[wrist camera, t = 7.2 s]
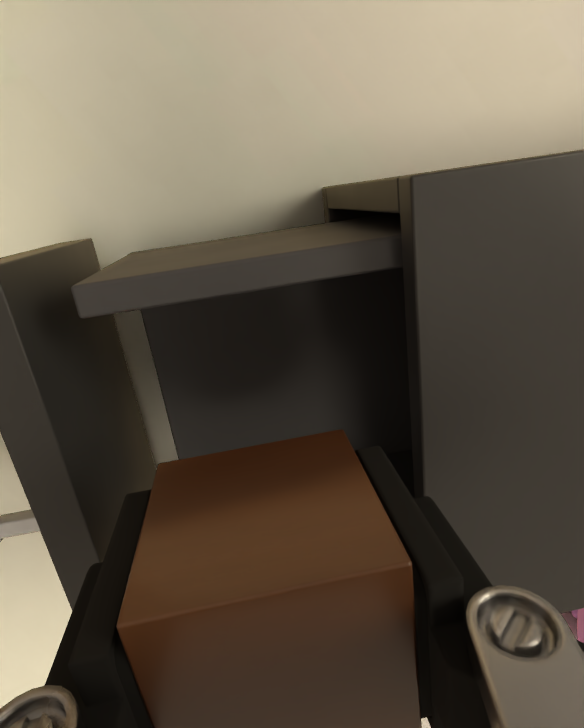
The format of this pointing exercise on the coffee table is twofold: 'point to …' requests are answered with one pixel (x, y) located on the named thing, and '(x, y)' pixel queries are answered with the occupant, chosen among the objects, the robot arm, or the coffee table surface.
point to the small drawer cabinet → (495, 357)
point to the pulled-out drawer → (194, 364)
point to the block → (271, 594)
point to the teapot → (579, 623)
